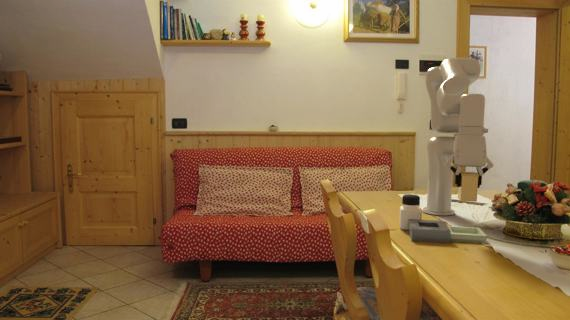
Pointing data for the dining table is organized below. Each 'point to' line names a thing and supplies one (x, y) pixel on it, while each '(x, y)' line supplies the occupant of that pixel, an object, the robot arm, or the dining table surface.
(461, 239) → the parts tray
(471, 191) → the tan rectangular block
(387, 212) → the dining table surface
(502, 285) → the dining table surface
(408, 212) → the medicine bottle
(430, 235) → the rail plate
